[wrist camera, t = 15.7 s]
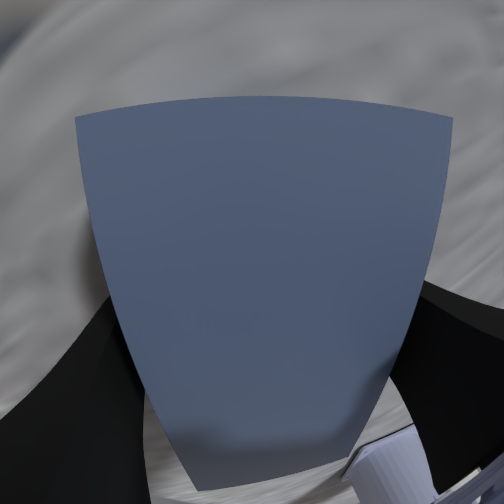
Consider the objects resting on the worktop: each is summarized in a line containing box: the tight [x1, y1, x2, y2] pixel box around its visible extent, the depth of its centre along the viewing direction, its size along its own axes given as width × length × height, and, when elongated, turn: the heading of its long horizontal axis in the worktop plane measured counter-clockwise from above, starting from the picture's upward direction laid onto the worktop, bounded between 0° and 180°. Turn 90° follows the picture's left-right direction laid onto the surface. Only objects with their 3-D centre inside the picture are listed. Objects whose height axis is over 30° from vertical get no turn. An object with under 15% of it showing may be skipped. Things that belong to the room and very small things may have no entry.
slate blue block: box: [75, 96, 453, 491], centre depth 9 cm, size 12×6×5 cm, turn 1°
